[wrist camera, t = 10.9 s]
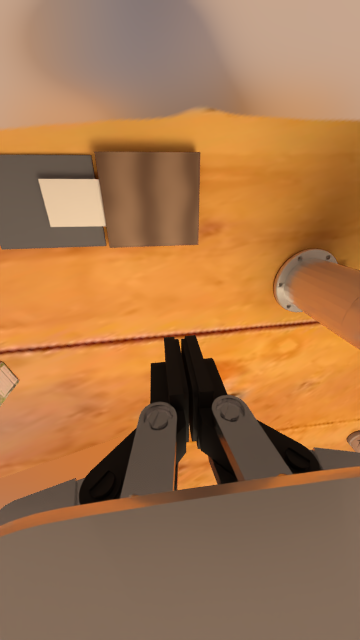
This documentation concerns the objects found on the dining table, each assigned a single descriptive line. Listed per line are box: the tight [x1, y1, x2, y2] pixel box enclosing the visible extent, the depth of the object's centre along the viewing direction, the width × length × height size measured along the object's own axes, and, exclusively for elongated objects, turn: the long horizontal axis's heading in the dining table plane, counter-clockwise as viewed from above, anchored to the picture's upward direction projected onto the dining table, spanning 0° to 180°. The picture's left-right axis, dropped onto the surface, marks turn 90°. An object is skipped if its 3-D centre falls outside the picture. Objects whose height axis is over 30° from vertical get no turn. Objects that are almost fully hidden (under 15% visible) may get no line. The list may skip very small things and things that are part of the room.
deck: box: [95, 152, 200, 248], centre depth 32 cm, size 14×12×2 cm
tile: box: [38, 179, 106, 227], centre depth 31 cm, size 8×6×2 cm
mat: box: [0, 155, 106, 249], centre depth 32 cm, size 16×12×1 cm
